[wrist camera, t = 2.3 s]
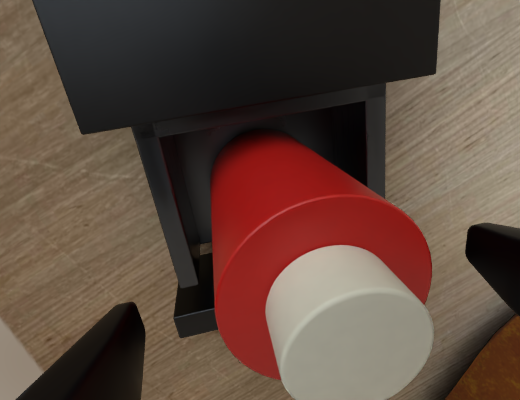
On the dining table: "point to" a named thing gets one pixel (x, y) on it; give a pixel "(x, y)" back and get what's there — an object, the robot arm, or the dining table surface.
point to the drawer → (206, 151)
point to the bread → (494, 368)
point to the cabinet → (227, 52)
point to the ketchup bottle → (316, 273)
